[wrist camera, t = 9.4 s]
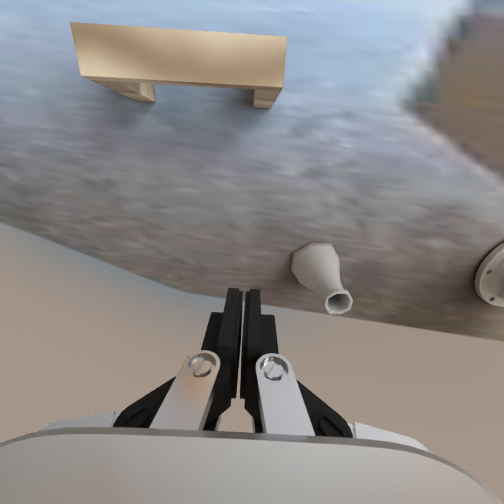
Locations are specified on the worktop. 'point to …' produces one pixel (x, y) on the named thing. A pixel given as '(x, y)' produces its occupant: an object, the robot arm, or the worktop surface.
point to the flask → (322, 275)
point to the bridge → (179, 60)
